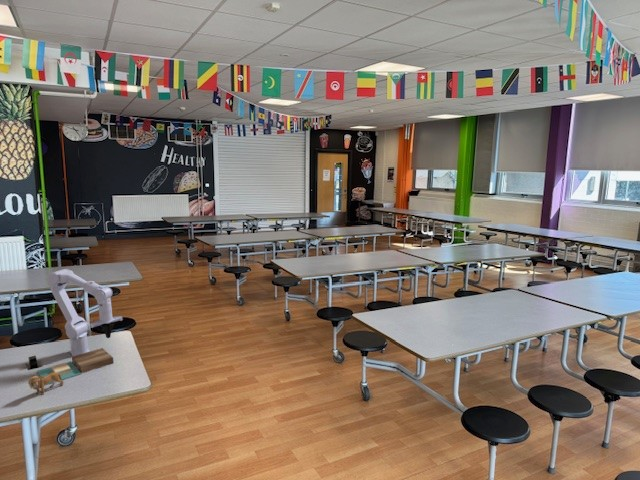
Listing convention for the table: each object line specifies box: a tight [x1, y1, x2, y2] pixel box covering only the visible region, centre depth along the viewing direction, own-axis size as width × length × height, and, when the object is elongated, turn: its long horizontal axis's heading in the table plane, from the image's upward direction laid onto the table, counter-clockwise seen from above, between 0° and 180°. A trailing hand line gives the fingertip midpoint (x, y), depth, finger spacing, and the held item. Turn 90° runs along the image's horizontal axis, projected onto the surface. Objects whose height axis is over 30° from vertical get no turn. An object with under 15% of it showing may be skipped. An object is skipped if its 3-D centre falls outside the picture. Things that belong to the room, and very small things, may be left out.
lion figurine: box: [27, 372, 65, 395], centre depth 180 cm, size 15×5×9 cm, turn 161°
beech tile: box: [50, 361, 71, 376], centre depth 197 cm, size 9×6×2 cm, turn 44°
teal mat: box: [36, 360, 82, 386], centre depth 197 cm, size 18×14×1 cm
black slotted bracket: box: [25, 355, 42, 371], centre depth 205 cm, size 12×7×5 cm, turn 40°
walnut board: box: [71, 347, 114, 374], centre depth 206 cm, size 16×14×3 cm
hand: (108, 337), depth 214 cm, fingers closed
